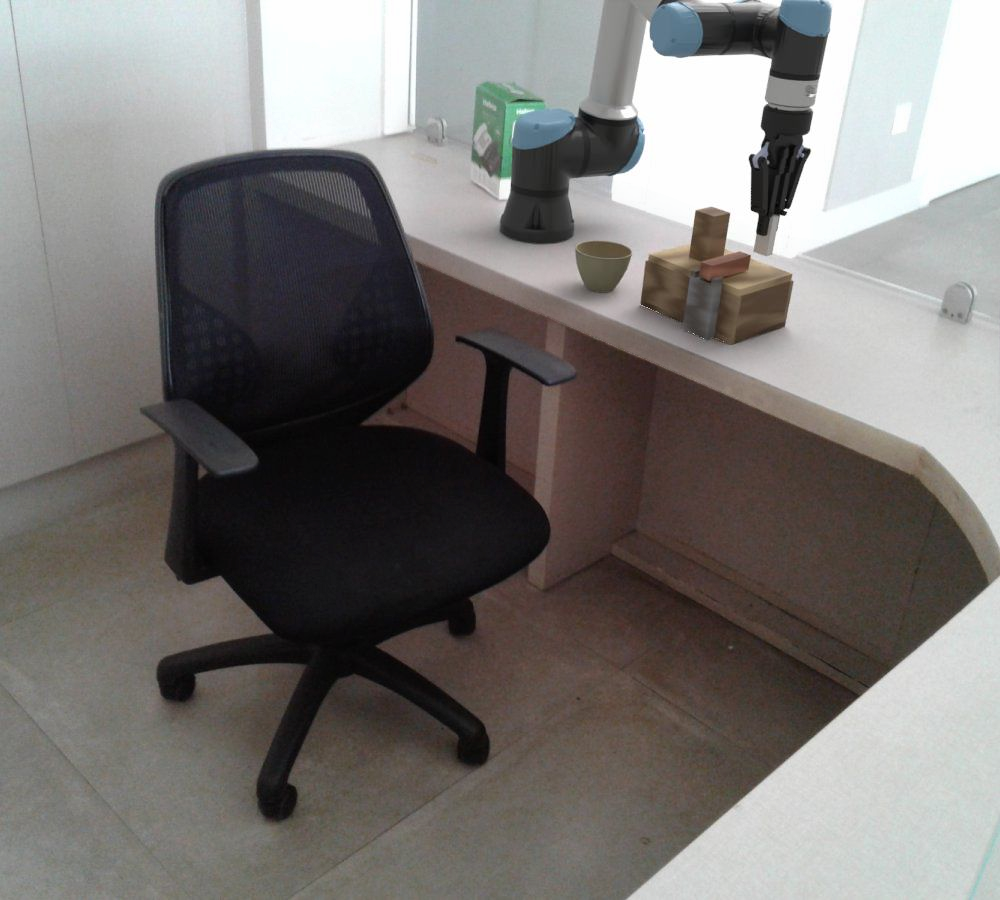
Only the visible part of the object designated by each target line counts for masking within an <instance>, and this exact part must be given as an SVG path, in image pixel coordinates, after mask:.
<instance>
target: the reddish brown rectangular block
mask: <svg viewBox="0 0 1000 900" xmlns="http://www.w3.org/2000/svg"><path fill="white" fill-rule="evenodd" d="M751 255H752V254H749V253H746V252H743V251H737V252H734V253H732V254H728V255H724V256H720V257H716V258H713V259H709V260H705V261H701V264H700V271H699V277H701V278H703V279H706V280H708V281H711V280H712V278H714V277H718V276H720V277H726V276H729V275H733V274H737V273H740V272H744V271H747V270H749V264H750V258H751V257H752V256H751ZM751 259H752V258H751Z"/></svg>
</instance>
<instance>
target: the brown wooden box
mask: <svg viewBox="0 0 1000 900" xmlns="http://www.w3.org/2000/svg"><path fill="white" fill-rule="evenodd" d="M699 271H700V268H697V269H693V270H691V274H690V277H687V276H685V275H682V274H680V273H677V272H675V271H672V270H670V269H667V268H665V267H662V266H660V265H657V264H655V263H652V262H650V261H648V259H646V260H645V264H644V270H643V279H642V289H641V296H640V297H641V298H640V304H641V305H643V306H645V307H648V308H650V309H652V310H654V311H657V312H659V313H661V314H663V315H665V316H664V317H666V316H667V317H666V318H668V317H669V318H668V319H670V318H672V319H674V320H673V321H675V320H676V321H675V322H677V321H678V322H677V323H679V322H681V323H680V324H682V323H683V324H682V329H684V330H683V331H685V330H686V331H685V332H687V331H689V332H690V334H691V333H694V334H695V335H694V334H693V335H694V336H696V335H698V336H699V337H698V336H697V337H698V338H700V337H702V338H701V339H703V338H704V339H703V340H705V339H706V340H705V341H709V340H712V339H715V338H717V339H716V340H718V339H719V340H718V341H720V340H721V341H720V342H722V341H724V342H726V343H725V344H727V345H730V346H732V345H735V344H737V343H741V342H743V341H746V340H749V339H753V338H756V337H758V336H761V335H764V334H767V333H769V332H770V333H771V332H773V331H776V330H779V329H782V328H785V327H786V323H787V318H788V314H789V309H790V303H791V298H792V293H793V288H794V282H795V281H794V280H792V279H791V281H789V282H786V283H782V284H779V285H776V286H772V287H769V288H766V289H763V290H759V291H756V292H753V293H749V294H746V295H743V296H739V297H737V296H735V295H732V294H730V293H727V292H725V291H722V285H723V279H724V278H723V277H720V276H718V277H714V278H712V280H711V281H708V280H706V279H703V278H701V277H699ZM641 305H640V306H641ZM643 306H642V307H643ZM645 307H644V308H645ZM648 308H647V309H648ZM650 309H649V310H650ZM652 310H651V311H652ZM654 311H653V312H654ZM657 312H656V313H657ZM659 313H658V314H659ZM661 314H660V315H661ZM663 315H662V316H663ZM672 319H671V320H672ZM689 332H688V333H689ZM713 337H714V338H713ZM711 338H712V339H711ZM708 339H709V340H708ZM724 342H723V343H724Z"/></svg>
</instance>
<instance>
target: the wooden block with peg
mask: <svg viewBox="0 0 1000 900" xmlns="http://www.w3.org/2000/svg"><path fill="white" fill-rule="evenodd" d="M730 218H731V212H729V211H726V210H723V209H720V208H718V207H714V206H707V207H704V208H699V209H696V210H695V213H694V218H693V219H694V220H693V226H692V234H691V239H690V240H691V241H690V243H688V244H684V245H680V246H676V247H670V248H667V249H663V250H659V251H655V252H652V253H648V258H647V260H648V261H650V262H652V263H655V264H657V265H660V266H662V267H665V268H667V269H670V270H672V271H675V272H677V273H680V274H682V275H685V276H687V277H690V274H691V270H693V269H697V268H700V264H701V261H705V260H709V259H713V258H716V257H720V256H724V255H728V254H732V253H735V252H734V251H732V250H728V249H726V243H727V236H728V232H729V231H728V230H729V225H730ZM723 278H724V279H723V285H722V291H725V292H727V293H730V294H732V295H735V296H737V297H739V296H743V295H746V294H749V293H753V292H756V291H759V290H763V289H766V288H769V287H772V286H776V285H779V284H782V283H786V282H789V281H791V280H792V279H793V273H792V272H789V271H786V270H783V269H781V268H777V267H774V266H772V265H769V264H767V263H764V262H761V261H758V260H756V259H753V258H750V264H749V270H747V271H744V272H740V273H737V274H733V275H729V276H726V277H723Z"/></svg>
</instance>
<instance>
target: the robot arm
mask: <svg viewBox="0 0 1000 900" xmlns="http://www.w3.org/2000/svg"><path fill="white" fill-rule="evenodd" d="M832 10H833V4H832V2H831V1H830V0H781V1H780V5H777V4H772V3H767V2H762V1H761V0H735V1H733V2H705V1H702V0H603V4H602V10H601V17H600V22H599V23H600V24H599V28H598V34H597V40H596V41H597V42H596V46H595V47H596V48H595V54H594V60H593V66H592V67H593V68H592V73H591V79H590V84H589V92H588V96H586V97H584V98H583V100H581V101H580V102H579V106H578V113H577V116H575V114H574V113H573V111H572V112H571V111H569V110H567V109H562V108H561V109H560V108H554V109H550V108H546V109H545V108H543V109H536V110H532V111H529V112H526V113H524V114H521V115H520V116H519V117H518V118H517V119H516V121H515V123H514V126H513V133H512V139H511V145H512V148H511V149H512V150H511V152H512V153H511V170H510V190H509V191H510V192H509V195H508V197H507V201H506V202H505V203H506V204H505V205H504V206H505V207H504V209H503V213H502V214H501V216H500V219H499V232H500V233H501V234H502V235H504V236H505V237H508V238H510V239H513V240H516V241H520V242H525V243H533V244H534V243H535V244H550V243H551V244H552V243H559V242H565V241H567V240H569V239H571V238H572V237H573V236H574V235H575V225H576V224H575V220H574V217H573V211H572V207H571V202H570V198H569V190H570V181H571V180H570V179H578V178H591V177H593V178H595V177H604V176H605V177H613V176H616V175H620V174H621V175H622V174H625V173H628V172H630V171H631V170H632V169H633V168H634V167H635V166H637V164H638V163H639V162H640V160H641V158H642V155H643V152H644V148H645V144H646V135H645V133H644V131H645V128H644V124H643V122H642V120H641V119H640V117H639V116H638V114H639V111H638V109H637V107H636V106H635V105H634V103H633V98H634V92H635V89H636V82H637V77H638V72H639V66H640V59H641V55H642V50H643V44H644V39H645V34H646V29H647V21H648V22H649V29H648V31H649V40H650V41H652V47H653V49H654V51H655V52H656V53H657V54H659V55H660V56H662V57H672V58H677V59H683V58H689V57H708V56H711V57H712V56H740V55H753V56H759V57H764V58H767V59H770V61H771V62H770V68H769V72H768V77H767V83H766V89H765V95H764V100H765V101H766V104H765V105H764V106H763V108H762V114H761V119H760V120H761V122H760V129H761V130H762V131H763V132H764V137H763V140H762V141H761V144H760V150H759V151H758V152H757V153H750V155H749V156H748V162H749V163H748V164H749V166H750V211H751V212H753V213H756V214H758V218H757V224H756V228H755V229H756V231H755V232H756V233H755V241H754V245H753V247H754V248H753V250H752V251H753V252H754V253H757V254H759V255H761V256H765V257H770V256H772V255H773V251H774V247H775V241H776V235H777V231H778V229H779V222H780V219H781V216H783V217H786V216H787V214H788V211H786V210H789V209H790V208H791V207H792V204H793V201H794V198H795V194H796V191H797V188H798V185H799V182H800V179H801V176H802V173H803V170H804V168H805V164H806V162H807V160H808V158H809V156H810V155H811V152H812V150H811V148H809V147H807V146H806V147H805V145H804V144H803V143H804V137H803V136H806V135H808V134H809V133H810V131H811V127H812V121H813V115H814V110H813V108H811V107H813V106H814V105H815V104H816V97H817V93H818V86H819V81H820V78H821V72H822V66H823V63H824V62H823V61H824V57H825V53H826V47H827V42H828V39H829V38H828V37H829V35H830V32H831V21H832V20H831V19H832V12H833V11H832Z"/></svg>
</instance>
